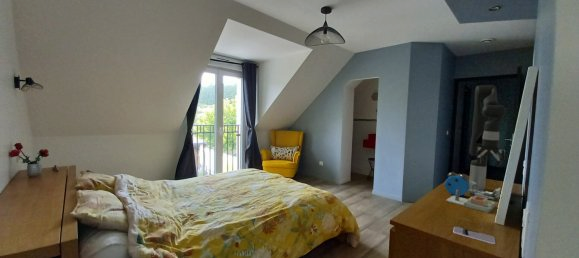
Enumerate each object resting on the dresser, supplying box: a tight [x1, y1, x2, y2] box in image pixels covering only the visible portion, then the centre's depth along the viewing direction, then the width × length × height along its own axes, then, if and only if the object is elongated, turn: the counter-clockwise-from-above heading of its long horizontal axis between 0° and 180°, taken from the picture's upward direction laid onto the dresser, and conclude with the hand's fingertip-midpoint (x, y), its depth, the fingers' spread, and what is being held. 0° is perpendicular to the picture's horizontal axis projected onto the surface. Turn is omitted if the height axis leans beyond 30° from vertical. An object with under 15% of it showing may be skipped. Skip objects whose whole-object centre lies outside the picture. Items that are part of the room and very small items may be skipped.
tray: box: [463, 196, 496, 214], centre depth 142 cm, size 16×12×2 cm
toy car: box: [467, 180, 502, 203], centre depth 160 cm, size 18×10×12 cm
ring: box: [471, 195, 489, 207], centre depth 142 cm, size 11×6×4 cm, turn 130°
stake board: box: [445, 190, 469, 206], centre depth 150 cm, size 13×9×7 cm
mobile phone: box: [452, 226, 496, 245], centre depth 109 cm, size 8×1×15 cm
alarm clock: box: [444, 171, 470, 197], centre depth 161 cm, size 13×6×15 cm, turn 45°
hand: (488, 165), depth 144 cm, fingers open, 8 cm apart
